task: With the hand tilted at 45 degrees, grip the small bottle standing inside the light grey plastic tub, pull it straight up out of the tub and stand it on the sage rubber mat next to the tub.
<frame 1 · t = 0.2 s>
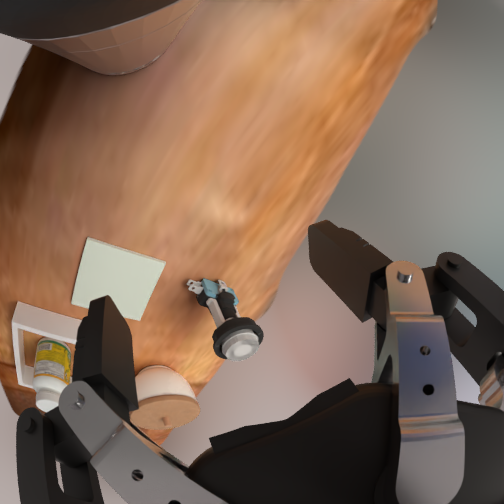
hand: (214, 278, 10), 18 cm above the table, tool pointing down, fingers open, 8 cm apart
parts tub: (54, 348, 29), on the table
push button: (209, 285, 34), on the table
supplement bottle: (54, 347, 29), resting in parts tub
lidded jar: (155, 374, 39), on the table
rubber mat: (115, 282, 28), on the table
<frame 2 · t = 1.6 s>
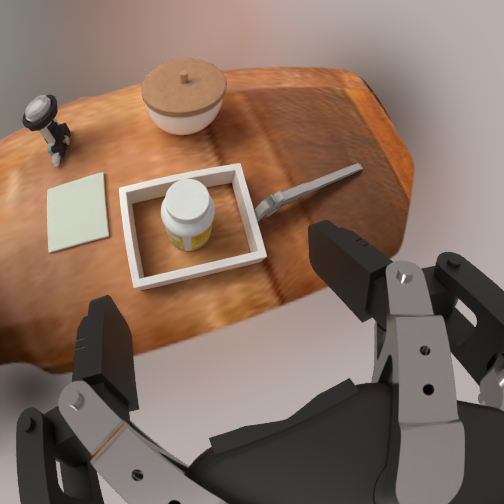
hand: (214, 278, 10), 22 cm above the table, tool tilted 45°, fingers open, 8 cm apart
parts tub: (189, 229, 33), on the table
push button: (61, 149, 32), on the table
supplement bottle: (189, 230, 33), resting in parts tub
lidded jar: (184, 119, 36), on the table
caliper: (312, 191, 38), on the table
rubber mat: (75, 212, 30), on the table
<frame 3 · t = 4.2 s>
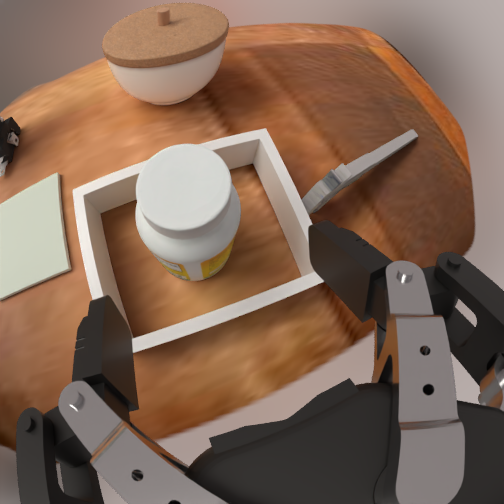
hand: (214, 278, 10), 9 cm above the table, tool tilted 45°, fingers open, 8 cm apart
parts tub: (195, 244, 20), on the table
push button: (9, 153, 19), on the table
supplement bottle: (195, 245, 20), resting in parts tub
lidded jar: (170, 86, 23), on the table
caliper: (367, 168, 24), on the table
rubber mat: (25, 237, 18), on the table
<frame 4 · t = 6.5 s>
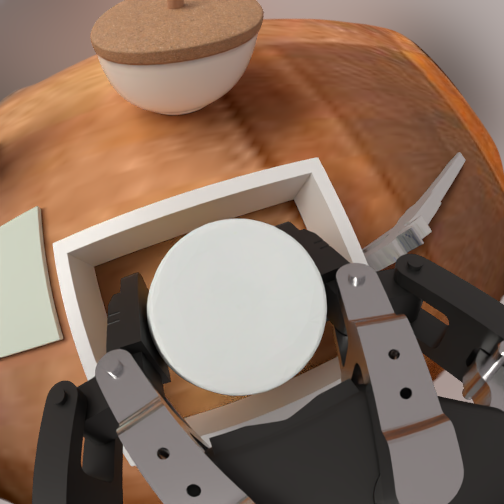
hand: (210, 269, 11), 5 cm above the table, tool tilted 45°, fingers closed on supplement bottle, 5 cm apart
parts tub: (223, 313, 15), on the table
supplement bottle: (222, 314, 15), resting in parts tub, touching gripper
lidded jar: (180, 90, 19), on the table
caliper: (419, 201, 20), on the table
rubber mat: (4, 289, 13), on the table
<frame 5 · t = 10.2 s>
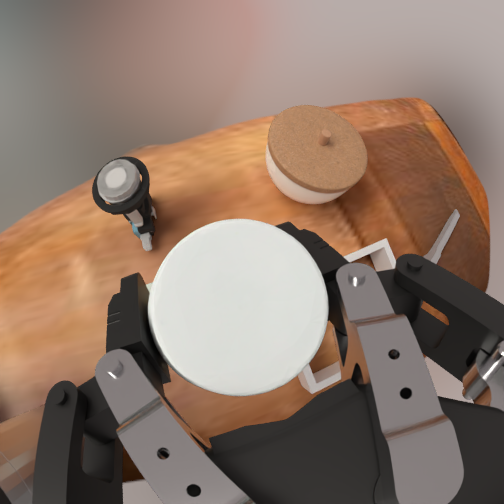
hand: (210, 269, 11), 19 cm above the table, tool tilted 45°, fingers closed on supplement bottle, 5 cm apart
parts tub: (341, 313, 30), on the table
push button: (145, 224, 30), on the table
supplement bottle: (223, 314, 15), point 14 cm above the table, touching gripper
lidded jar: (300, 177, 33), on the table
caliper: (429, 246, 34), on the table
when the fingers open (6 cm above the table, at t = 13.8 s): supplement bottle moves 1 cm, resting on rubber mat.
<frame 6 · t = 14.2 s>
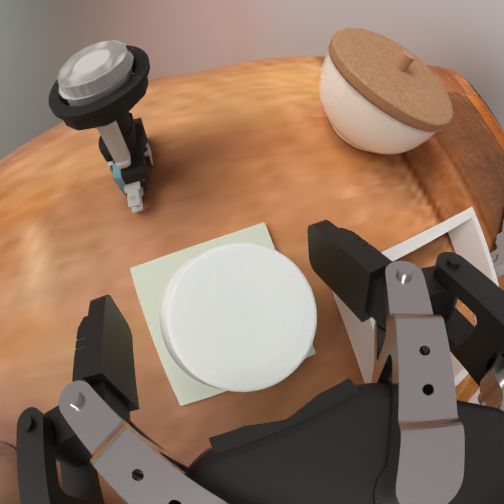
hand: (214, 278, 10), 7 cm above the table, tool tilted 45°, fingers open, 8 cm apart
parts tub: (424, 309, 19), on the table
push button: (134, 174, 18), on the table
supplement bottle: (225, 317, 16), resting on rubber mat
lidded jar: (357, 126, 22), on the table
caliper: (495, 226, 23), on the table
rubber mat: (222, 314, 17), on the table
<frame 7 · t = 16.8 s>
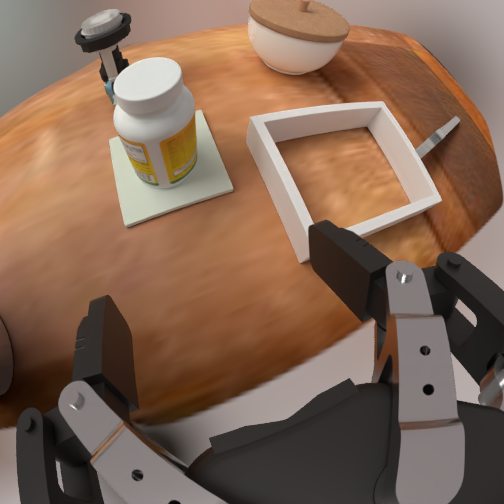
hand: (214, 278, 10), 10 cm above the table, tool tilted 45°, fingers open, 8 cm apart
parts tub: (343, 176, 24), on the table
push button: (121, 94, 23), on the table
supplement bottle: (166, 163, 22), resting on rubber mat
lidded jar: (286, 61, 27), on the table
caliper: (433, 140, 28), on the table
rubber mat: (165, 163, 22), on the table
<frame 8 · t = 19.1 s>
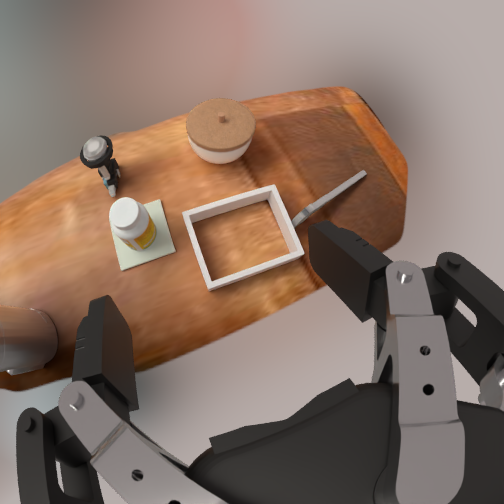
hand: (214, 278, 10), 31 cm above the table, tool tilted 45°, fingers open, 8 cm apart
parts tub: (241, 239, 43), on the table
push button: (113, 181, 42), on the table
supplement bottle: (141, 235, 40), resting on rubber mat
lidded jar: (219, 149, 46), on the table
caliper: (330, 198, 47), on the table
rubber mat: (140, 234, 41), on the table
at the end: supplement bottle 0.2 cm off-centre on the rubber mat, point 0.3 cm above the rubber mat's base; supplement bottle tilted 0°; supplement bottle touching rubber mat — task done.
